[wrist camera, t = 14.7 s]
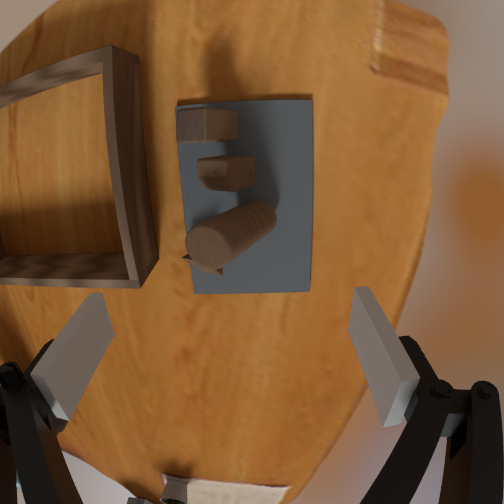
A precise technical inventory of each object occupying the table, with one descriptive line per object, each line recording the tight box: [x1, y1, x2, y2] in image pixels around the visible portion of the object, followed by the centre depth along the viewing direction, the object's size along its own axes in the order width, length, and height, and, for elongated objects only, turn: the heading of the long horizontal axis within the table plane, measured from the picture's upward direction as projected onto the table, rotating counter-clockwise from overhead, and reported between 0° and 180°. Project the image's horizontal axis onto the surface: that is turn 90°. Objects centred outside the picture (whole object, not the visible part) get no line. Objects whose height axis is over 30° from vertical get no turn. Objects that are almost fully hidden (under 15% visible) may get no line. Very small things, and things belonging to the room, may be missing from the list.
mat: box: [175, 100, 313, 294], centre depth 34 cm, size 14×22×1 cm, turn 2°
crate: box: [0, 45, 159, 288], centre depth 30 cm, size 28×24×7 cm
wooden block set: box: [176, 107, 277, 276], centre depth 29 cm, size 18×9×10 cm, turn 179°
